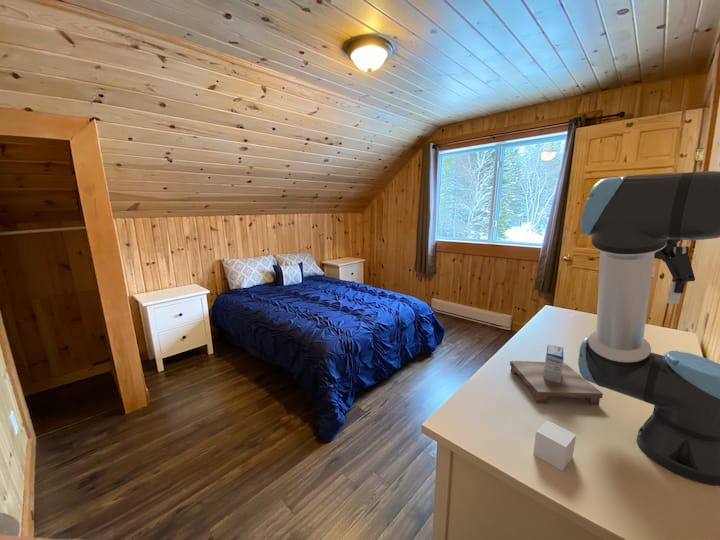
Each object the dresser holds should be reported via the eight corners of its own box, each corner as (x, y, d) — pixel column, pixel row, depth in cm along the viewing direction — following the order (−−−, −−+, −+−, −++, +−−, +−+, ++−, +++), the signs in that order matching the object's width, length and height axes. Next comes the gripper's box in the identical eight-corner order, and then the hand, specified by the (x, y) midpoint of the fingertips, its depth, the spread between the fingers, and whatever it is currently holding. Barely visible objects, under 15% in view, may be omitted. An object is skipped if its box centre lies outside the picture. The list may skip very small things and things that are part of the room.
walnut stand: (600, 406, 87) (602, 393, 87) (536, 404, 88) (538, 391, 87) (562, 373, 105) (564, 362, 104) (509, 371, 106) (510, 361, 105)
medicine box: (544, 368, 100) (547, 343, 99) (560, 372, 98) (563, 346, 96) (543, 379, 94) (546, 353, 92) (560, 383, 91) (564, 356, 90)
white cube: (572, 457, 69) (576, 434, 68) (562, 471, 66) (566, 447, 65) (543, 442, 74) (547, 420, 73) (532, 453, 70) (536, 431, 69)
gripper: (618, 225, 103) (608, 286, 107) (695, 230, 78) (678, 309, 83) (641, 225, 102) (630, 286, 107) (726, 230, 78) (707, 309, 82)
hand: (651, 296), depth 95 cm, fingers open, 13 cm apart
